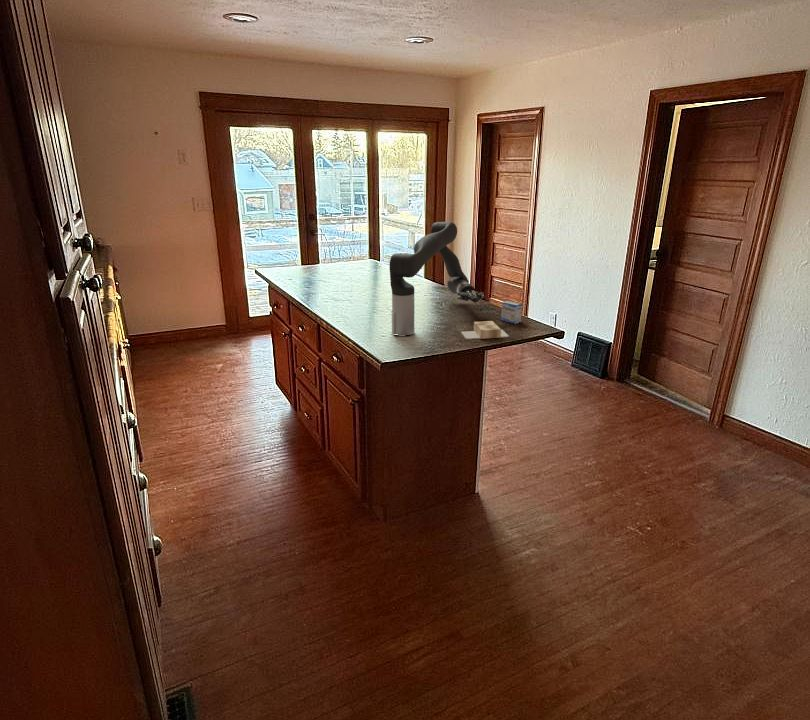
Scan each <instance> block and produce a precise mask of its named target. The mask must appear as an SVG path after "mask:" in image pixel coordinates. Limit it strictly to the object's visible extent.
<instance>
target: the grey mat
mask: <svg viewBox="0 0 810 720" xmlns="http://www.w3.org/2000/svg"><path fill="white" fill-rule="evenodd" d="M460 334H461V335H462V336H463V337H464V339H465V340H478V339H479V340H480V339H481V338H480V336H479V335H478V334H477V333H476V332H475V331H474V330H469V331H468V330H467V331H460ZM509 337H510V335H509V334H508V333H506V332H505V330H503V329H501V338H509Z"/></svg>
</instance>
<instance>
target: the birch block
mask: <svg viewBox="0 0 810 720" xmlns="http://www.w3.org/2000/svg"><path fill="white" fill-rule="evenodd" d="M501 330H502V329H501V328H500V327H499V326H498V325H497V324H496V323H495V322H494V321H493V320H487V321H473V331H475V332H476V333H477V334H478V335H479V336H480V338H481V339H483V340H484V339H499V338H500V339H501V338H502V337H501Z"/></svg>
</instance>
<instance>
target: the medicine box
mask: <svg viewBox="0 0 810 720" xmlns="http://www.w3.org/2000/svg"><path fill="white" fill-rule="evenodd" d="M522 311H523V303H519V302H514V301H511V300H505V301H502V303H501V317H500V320H502V321H501V322H504V321H505V323H509V322H510V324H513V323H514V325H517V324H519V322H520V323H521V321H522ZM516 323H517V324H516Z"/></svg>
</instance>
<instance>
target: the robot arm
mask: <svg viewBox="0 0 810 720" xmlns="http://www.w3.org/2000/svg"><path fill="white" fill-rule="evenodd" d="M457 235H458V227H457V225H456V224H455V223H454V222H452V221H436V222H433V224H432V225H431V228H430V233H429V234H426V235H424V236H422V237H421V238H420V239H418V240H417V241H416V243H415V244H414V247H413V253H399V252H398V253H396V252H395V253H393V254H392V255H391V257H390V260H389V276H390V277H389V278H390V279H389V280H390V289H391V333H392V332H393V333H392V335H393V334H398V335H411V334H413V335H414V334H415V287H414V285H413V284H411V283H409V282H408V281H406V280H405V278H407V279H408V278H413V277H415V276H417V274H418V273H419V272H420V271H421V269H422V268H423V266H425V264H427V263H428V262H429V261H430V260H431V259H432V258H433V257H434V256H436V255H437V254H438V253H439V255H440V256H441V259H442V261H443V263H444V266H445V270H446V272H447V275H448V277H450V279H448V281H447V283H446V284H447V288H448V290H449V291H450V292H451V293H453V294H457V295H456V296H457V300H462V301H465V302H471V303H475V304H477V303H478V302H479V301H480V300H482V299H484V291H481V292H479V291H477V290H476V288H475V287H474V286H473V285H472V284H471V283H469V279H468V277H467V276H466V275H465V272H464V271H463V270H462V267H461V263H460V260H459V258H458V256H457V255H456V254H455V253H454V251H452V250H451V249H450V248H449V247H448V245H449V244H451V243H453V242H454V241H455V239H457ZM411 336H412V335H411Z"/></svg>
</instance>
